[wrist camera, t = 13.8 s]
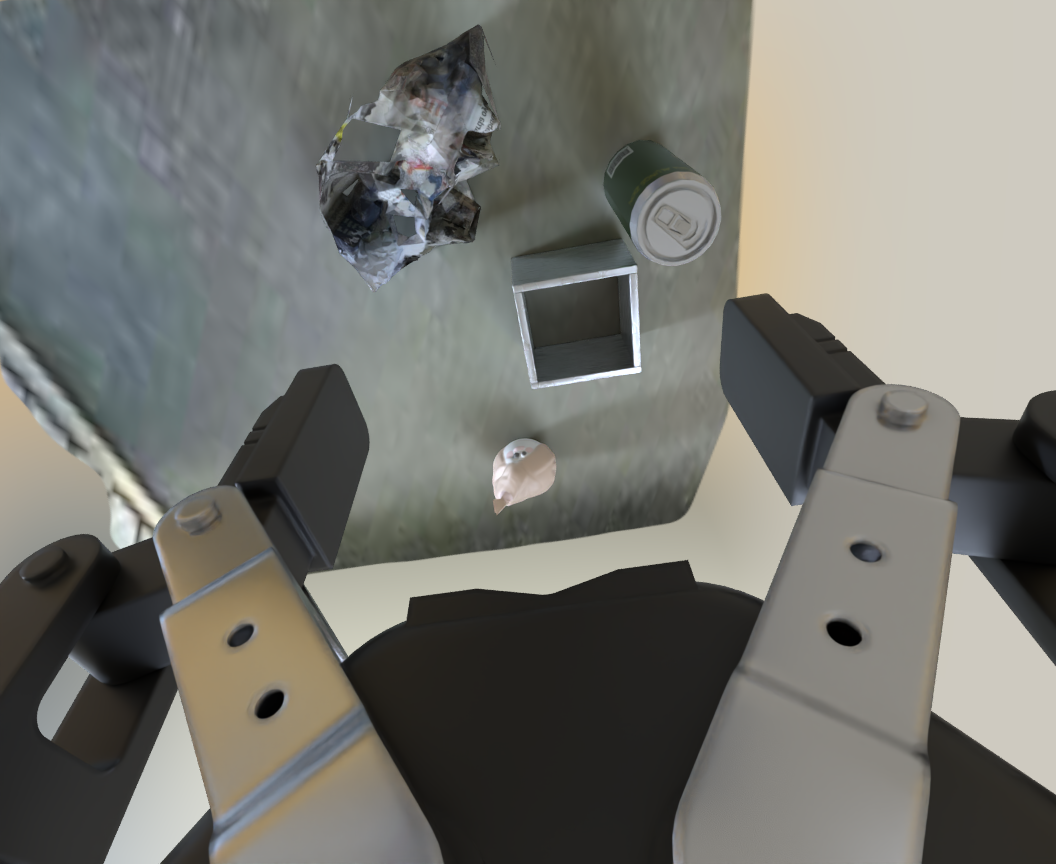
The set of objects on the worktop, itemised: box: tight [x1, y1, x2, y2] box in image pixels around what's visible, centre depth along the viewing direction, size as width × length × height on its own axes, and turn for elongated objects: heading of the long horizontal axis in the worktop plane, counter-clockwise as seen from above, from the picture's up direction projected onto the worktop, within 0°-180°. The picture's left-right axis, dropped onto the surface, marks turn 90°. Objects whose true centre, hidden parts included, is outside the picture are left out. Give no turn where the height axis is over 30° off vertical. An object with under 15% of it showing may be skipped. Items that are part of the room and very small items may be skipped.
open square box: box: [511, 239, 641, 389], centre depth 44 cm, size 9×9×6 cm
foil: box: [316, 25, 501, 292], centre depth 37 cm, size 12×11×15 cm
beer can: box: [604, 140, 721, 266], centre depth 36 cm, size 5×5×12 cm
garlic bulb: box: [493, 438, 556, 515], centre depth 54 cm, size 7×6×8 cm
